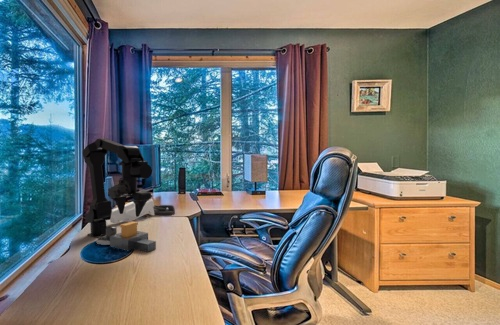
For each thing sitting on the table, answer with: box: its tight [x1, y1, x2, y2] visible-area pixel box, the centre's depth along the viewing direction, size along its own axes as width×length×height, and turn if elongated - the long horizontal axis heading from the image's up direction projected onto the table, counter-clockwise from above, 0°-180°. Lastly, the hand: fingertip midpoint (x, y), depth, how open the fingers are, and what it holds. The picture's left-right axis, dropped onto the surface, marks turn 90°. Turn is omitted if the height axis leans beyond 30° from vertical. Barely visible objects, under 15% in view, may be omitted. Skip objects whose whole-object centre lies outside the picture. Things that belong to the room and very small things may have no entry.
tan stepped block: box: [119, 220, 139, 237], centre depth 113 cm, size 3×6×9 cm, turn 154°
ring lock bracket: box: [95, 225, 157, 253], centre depth 114 cm, size 28×11×6 cm, turn 64°
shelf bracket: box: [109, 196, 156, 224], centre depth 154 cm, size 6×25×13 cm, turn 148°
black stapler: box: [148, 204, 176, 217], centre depth 169 cm, size 9×7×25 cm
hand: (129, 215), depth 115 cm, fingers open, 9 cm apart
